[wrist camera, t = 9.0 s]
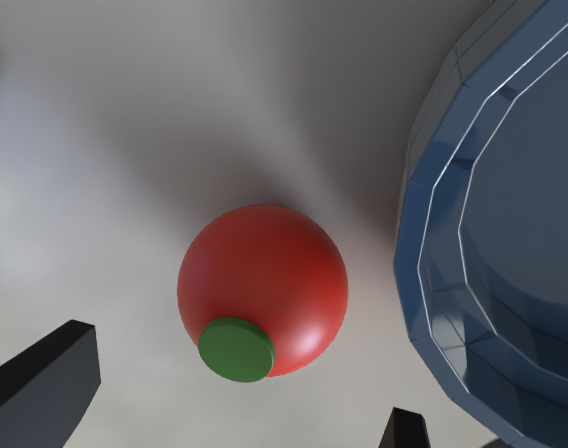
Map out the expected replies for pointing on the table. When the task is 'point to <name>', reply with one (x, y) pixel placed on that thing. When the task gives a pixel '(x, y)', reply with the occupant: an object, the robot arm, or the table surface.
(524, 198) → the bowl
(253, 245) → the tomato
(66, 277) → the table surface
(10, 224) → the table surface
